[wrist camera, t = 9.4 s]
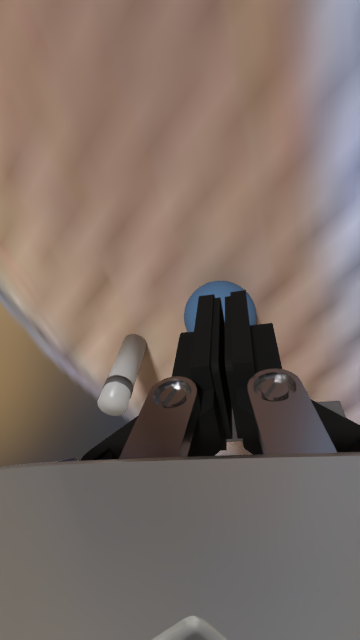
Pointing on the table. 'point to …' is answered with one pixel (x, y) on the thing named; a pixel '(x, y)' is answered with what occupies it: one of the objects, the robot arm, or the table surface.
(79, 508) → the robot arm
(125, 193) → the table surface
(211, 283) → the ball
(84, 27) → the table surface
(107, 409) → the grey pin
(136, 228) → the table surface
